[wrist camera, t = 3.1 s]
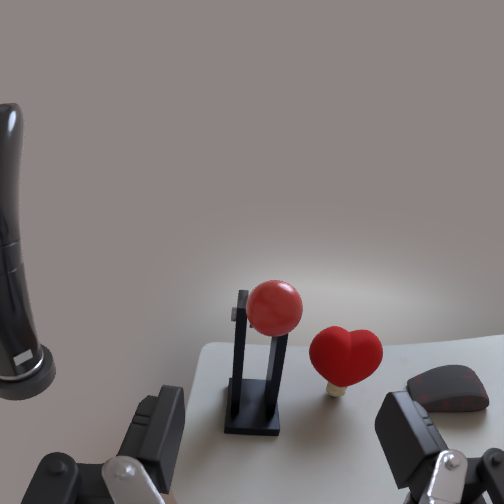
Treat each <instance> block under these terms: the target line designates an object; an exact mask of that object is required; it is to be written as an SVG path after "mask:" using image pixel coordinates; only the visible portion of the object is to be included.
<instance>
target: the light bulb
mask: <svg viewBox="0 0 504 504" xmlns="http://www.w3.org/2000/svg"><path fill="white" fill-rule="evenodd" d="M309 355H310V360H311V363H312V365H313V366H314V368H315V369H316V370H317V372H318V373H319V374H320V375H321V376H322V377H324V378H325V379H326V380H327V381H328V383H327V387H326V391H327V393H328V394H330V395H332V396H333V397H339V396H342V395H344V394H345V391H346V388H347V386H350V385H353V384H356V383H358V382H360V381H362V380H364V379H366V378H367V377H369V376H370V375H371V374H372V373H373V372H374V371H375V370H376V369H377V368H378V367H379V365H380V363H381V361H382V357H383V348H382V345H381V342H380V341H379V339H378V338H377V336H375V334H374V333H372V332H370V331H368V330H356V331H352V332H348V331H347V330H345V329H343V328H341V327H337V326H332V327H329V328H326V329H324V330H323V331H321V332H320V333H319V334H317V335H316V337H315V338H314V339H313V341H312V343H311V345H310V349H309Z"/></svg>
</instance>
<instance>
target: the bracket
mask: <svg viewBox="0 0 504 504" xmlns="http://www.w3.org/2000/svg"><path fill="white" fill-rule="evenodd" d="M247 299H248V290H239V293H238V303H237V308H236V307H233V308H232V316H231V321H235V322H236V328H235V344H234V359H233V375H232V378H229V387H228V396H227V406H226V416H225V426H224V433H230V434H244V435H267V436H278V435H279V431H280V425H279V414H278V404H277V398H278V393H279V387H280V381H281V376H282V370H283V364H284V358H285V352H286V346H287V339H288V333H287V334H285V335H282V336H277V337H272V341H271V348H270V355H269V363H268V370H267V377H266V380H256V379H242V373H243V361H244V350H245V338H246V326H247V325H246V324H247V314H246V303H247Z"/></svg>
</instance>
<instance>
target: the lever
mask: <svg viewBox="0 0 504 504" xmlns="http://www.w3.org/2000/svg"><path fill="white" fill-rule="evenodd" d="M302 311H303V306H302V300H301V297H300V295H299V293H298V292H297V291H296V290H295V288H293V287H292V286H291V285H290V284H288V283H286V282H283V281H278V280H271V281H266V282H264V283H261V284H259V285H258V286H257V287H255V289H253V291H252V292H251V293H250V295H249V297H248V299H247V303H246V314H247V318H248V320H249V322H250V328H254V329H255V330H257V331H258V332H259V333H261V334H264V335H267V336H272V337H277V336H282V335H285V334H287V333H289V332H291V331H292V330H293V329H294V328H295V327H296V326H297V324H298V323H299V321H300V319H301V316H302Z"/></svg>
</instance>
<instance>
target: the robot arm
mask: <svg viewBox="0 0 504 504" xmlns="http://www.w3.org/2000/svg"><path fill="white" fill-rule="evenodd" d="M24 132H25V120H24V114H23V111H22V109H21V107H20V106H19V105H18V104H16V103H5V104H0V381H1V382H5V383H18V382H22V381H25V380H28V379H30V378H32V377H33V376H35V375H36V374H37V373H38V372H39V371H40V370H41V369H42V367H43V365H44V362H45V357H44V354H43V350H42V348H41V344H40V342H39V338H38V334H37V330H36V326H35V322H34V317H33V313H32V308H31V303H30V298H29V293H28V287H27V281H26V275H25V267H24V260H23V252H22V242H21V230H20V178H21V165H22V155H23V146H24ZM184 425H185V406H184V392H183V388H182V387H176V386H169V385H163V386H162V388H161V390H160V393H159V395H158V397H155V396H150V395H148V396H147V397H146V398H145V399H144V400H142V401H141V402H140V403H139V405H138V408H137V410H136V412H135V415H134V417H133V419H132V423H130V426H129V428H128V431H127V433H126V435H125V438H124V440H123V443H122V445H121V447H120V450H119V452H118V454H117V455H116V457H113V458H111V459H109V460H107V461H106V462H105V463H103V464H82V463H76V462H75V461H74V459H73V458H72V457H70V456H69V455H67V454H65V453H60V452H54V453H50V454H48V455H46V456H45V457H44V458H43V459H42V460H41V462H40V463H39V465H38V468H37V470H36V472H35V474H34V476H33V478H32V480H31V482H30V484H29V487H28V488H27V491H26V493H25V495H24V497H23V499H22V502H21V504H166V503H165V502H164V500H163V499H162V497H161V496H160V493H163V494H169V490H170V486H171V481H172V477H173V473H174V468H175V464H176V460H177V455H178V451H179V447H180V443H181V439H182V434H183V430H184ZM375 431H376V434H377V436H378V439H379V441H380V443H381V446H382V448H383V451H384V453H385V456H386V459H387V461H388V464H389V466H390V469H391V471H392V474H393V477H394V479H395V482H396V484H397V487H398V489H402V488H406V487H409V489H410V491H409V492H408V494H407V496H406V498H405V501H404V503H403V504H486V502H485V500H484V498H483V495H482V494H483V493H484V492H485V491H486V490H487V492H488V494H489V496H490V498H491V501H492V503H493V504H504V451H502V450H501V449H498V448H491V449H488V450H487V451H486V452H485V453H484V455H483V456H482V457H480V458H466V457H465V455H464V454H463V453H461V452H460V451H458V450H454V449H449V448H448V447H447V445H446V443H445V442H444V440H443V438H442V437H441V435H440V433H439V431H438V430H437V428H436V426H435V425H433V421H432V420H431V418H429V415H428V413H427V412H426V410H425V408H424V407H422V406H421V405H420V404H419V403H418V402H416V401H412V399H411V397H410V396H409V394H408V393H407V392H406V391H398V392H389V393H388V394H387V395H386V397H385V399H384V401H383V403H382V406H381V408H380V410H379V412H378V414H377V417H376V419H375Z"/></svg>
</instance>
